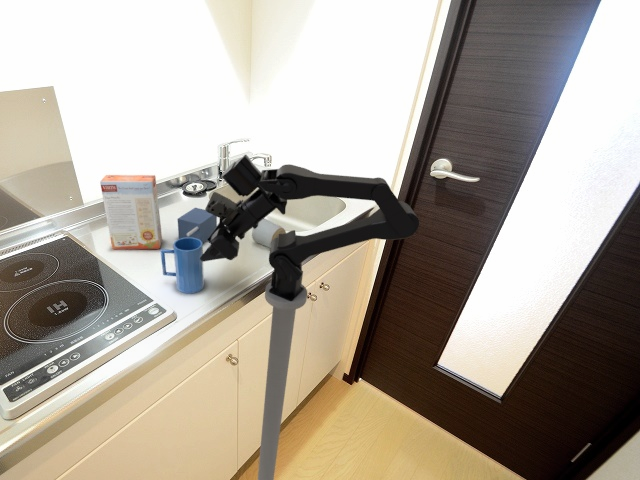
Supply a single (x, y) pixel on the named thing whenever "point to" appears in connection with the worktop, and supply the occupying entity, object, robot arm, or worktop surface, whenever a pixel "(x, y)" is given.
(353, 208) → the worktop surface
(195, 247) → the blue mug
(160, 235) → the cracker box
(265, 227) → the grey cylinder
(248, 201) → the robot arm
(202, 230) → the slate-blue box
